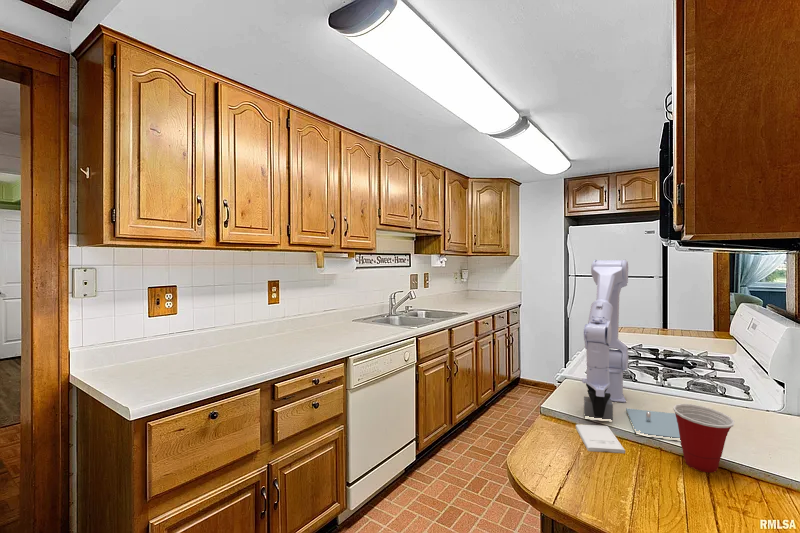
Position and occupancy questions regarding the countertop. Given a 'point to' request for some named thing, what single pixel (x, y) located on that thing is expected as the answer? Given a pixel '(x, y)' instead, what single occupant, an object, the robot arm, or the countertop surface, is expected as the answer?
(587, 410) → the gray rectangular block
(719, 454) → the plastic cup
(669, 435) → the tray
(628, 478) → the countertop surface
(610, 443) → the external hard drive
